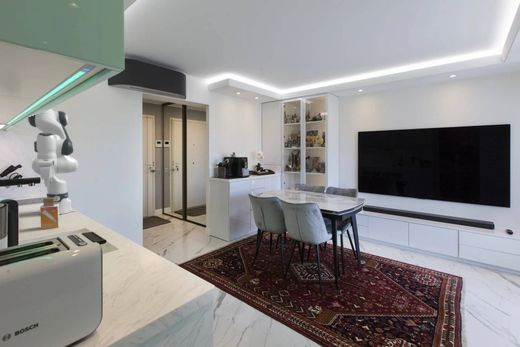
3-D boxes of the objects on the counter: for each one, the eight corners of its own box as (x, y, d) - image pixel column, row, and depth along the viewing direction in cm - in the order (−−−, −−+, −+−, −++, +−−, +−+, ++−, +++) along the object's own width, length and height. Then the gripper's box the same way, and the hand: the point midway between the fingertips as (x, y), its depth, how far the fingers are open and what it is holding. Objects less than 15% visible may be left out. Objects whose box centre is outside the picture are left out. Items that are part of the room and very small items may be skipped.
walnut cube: (45, 205, 153) (44, 197, 153) (54, 204, 156) (54, 197, 155) (43, 206, 149) (43, 199, 149) (53, 206, 152) (53, 198, 151)
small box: (41, 229, 149) (39, 207, 148) (42, 226, 154) (41, 205, 153) (58, 227, 153) (57, 206, 152) (59, 224, 159) (58, 203, 157)
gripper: (43, 160, 157) (44, 182, 159) (36, 162, 140) (38, 188, 141) (56, 160, 160) (57, 182, 162) (51, 162, 143) (53, 187, 145)
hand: (48, 185), depth 151 cm, fingers open, 8 cm apart
